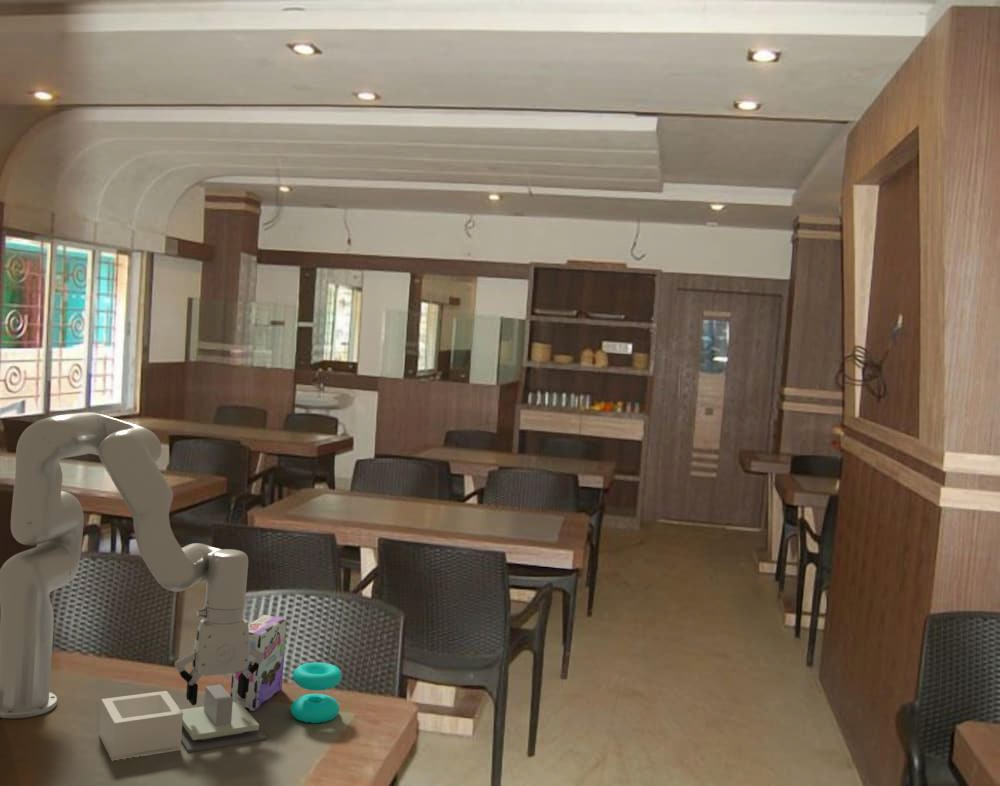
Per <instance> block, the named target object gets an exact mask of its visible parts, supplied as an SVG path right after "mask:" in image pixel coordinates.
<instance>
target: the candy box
mask: <svg viewBox="0 0 1000 786" xmlns="http://www.w3.org/2000/svg"><path fill="white" fill-rule="evenodd" d="M287 620H288V618H287V617H283V616H275V615H268V614H263V615H262V616H260V617H259V618H256V619H255V620H253V621H251V622H250V623H248V627H249V647H251V648H253V649H255V650H258V651H260V652H262V653H263V654H264V658H263V660H262V661H261V663H260V664H259V668H258V669H257V670H256V671H255V672H254V673H253V674H252V677H251V678H249V688H248V692H247V693H246V698H245V699H242V698H241V697H240V696H239V695H238V693H237V690H238V678H239V675H240V674H241V672H238V673H231V685H230V696H231V697H232V698H233V702H238V701H239V702H240V703H241V705H242V706H243V707H244V708H245V709H246V710H247V711H250V712H251V711H252V712H255V711H256V710H258V709H259V708H260V707H261V706H263V705H264V704H265V703H267V702H268V701H269V700H270V699H271V698H273V697H274V696H275V695H277V693H279V692H280V691H281V690H282V689H283V675H284V662H285V650H286V649H285V647H286V635H287V622H288V621H287ZM253 659H254V657H253V656H251V655H249V664H250V663H251V662H252V661H253Z"/></svg>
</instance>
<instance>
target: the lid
mask: <svg viewBox="0 0 1000 786" xmlns="http://www.w3.org/2000/svg"><path fill="white" fill-rule="evenodd" d="M204 689H205V690H204V703H203V706H197V707H188V708H182V709H180V710H181V711H182V713H183V719H182V725H183V726H184V728H185V729H186V731H187V732H188V733H189V735H190V736H191V738H192V739H193V740H198V739H201V740H204V739H210V738H217V737H223V736H229V735H235V734H241V733H244V732H248V731H254V730H259V729H260V724H259V722H258V721H257V720H256V719H255V718H254V717H253V716H252V715H251V713H249V710H246V709H245V708H244V707H243V706H242V705H241V703H240V702H239V701H238V702H233V698H232V697H231V694H229V692H228V691H227V690H226V689H225V688H224V687H223V686H222V684H212V685H206V686H205V687H204Z"/></svg>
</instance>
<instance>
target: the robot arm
mask: <svg viewBox="0 0 1000 786" xmlns="http://www.w3.org/2000/svg"><path fill="white" fill-rule="evenodd" d="M88 454H89V455H90V454H91V455H96V456H98V458H99V459H100V462H101V464H102V465H103V467H104V469H105V471H106V472H107V474H108V476H109V477H110V479H111V481H112V482H113V484H114V486H115V488H116V489H117V491H118V492H119V495H120V496H121V497H122V499H123V501H124V502H125V504H126V505H127V507H128V509H129V511H130V512H131V515H132V518H133V519H132V520H133V531H134V534H135V540H136V545H137V548H138V551H139V553H140V556H141V557H142V560H143V561H144V563H145V565H146V566H147V568H148V570H149V571H150V572H151V574H152V576H153V577H154V579H155V580H156V582H157V583H158V584H160V586H162V587H163V588H164V589H165V590H167V591H170V592H183V591H186V590H188V589H190V588H191V587H193V586H195V585H197V584H199V583H202V582H203V583H204V582H206V587H205V597H204V598H205V600H204V604H203V607H202V608H200V609H197V610H196V616H197V617H198V618H199V617H201V618H203V619H201V620H200V622H199V624H198V628H197V631H196V635H195V636H196V637H195V640H194V644H193V645H194V647H193V650H192V651H190V652H189V653H188V654H185V655H184V656H183V657H181V658H178V659H177V660H175V661H174V666H175V668H176V670H177V672H178V673H179V675H180V677H181V678H183V680H184V681H185V682H187V683H186V684H187V685H186V700H187V701H189V703H190V704H191V706H196V705H197V703H198V701H197V700H198V690H199V685H198V684H197V682H198V681H199V679H200V678H201V677H210V676H220V675H229V674H230V675H231V674H232V673H238V672H241V674H240V675H239V678H238V690H237V693H238V695H239V696H240V697H241V698H242V699H245V698H246V693H247V692H248V688H249V678H251V677H252V674H253V673H254V672H255V671H256V670H257V669H258V668H259V664H260V663H261V661H262V660H263V658H264V654H263V653H262V652H260V651H258V650H255V649H253V648H251V647H249V627H248V624H249V620H248V619H246V618H245V606H246V595H247V594H246V593H247V583H248V582H247V581H248V571H249V570H248V569H249V557H248V555H247V553H246V552H244V551H242V550H238V549H234V548H233V549H229V548H224V549H222V548H219V547H214V546H211V545H208V544H205V543H199V542H196V543H195V542H194V543H190V544H186V545H184V547H181V545H180V544H179V542H178V540H177V539H176V537H175V535H174V533H173V530H172V528H171V521H170V509H171V507H172V502H173V499H174V493H173V490H172V488H171V486H170V484H169V483H168V481H167V479H166V477H164V474H163V473H162V471H161V470H160V468H159V467H158V464H157V462H158V461H159V459H160V458H161V454H162V444H161V441H160V439H159V438H158V435H156V434H155V433H154V432H153V431H151V430H150V429H148V428H146V427H143V426H141V425H137V424H134V423H131V422H127V421H124V420H121V419H118V418H116V417H115V418H114V417H111V416H108V415H105V414H101V413H98V412H90V411H89V412H78V413H77V412H76V413H66V414H59V415H58V414H57V415H53V416H50V417H46V418H43V419H39V420H37V421H35V422H33V423H31V424H30V425H29V426H27V427H26V428H25V429H24V430H23V431H22V433H21V435H20V437H19V439H17V443H16V450H15V475H14V477H15V478H14V482H13V483H14V484H13V493H12V503H11V504H12V505H11V513H10V531H11V534H12V537H13V538H14V539H15V540H16V541H17V542H18V543H20V544H22V545H25V546H33V545H34V546H35V545H36V546H35V547H32V548H30V549H29V548H28V549H26V550H23V551H21V552H18V553H16V554H14V555H12V556H11V557H9V558H8V559H7V560H6V561H5V562H4V563H3V564H2V566H1V567H0V718H1V719H25V718H26V719H27V718H32V717H36V716H41V715H44V714H46V713H49V712H51V711H52V710H54V708H56V707H57V704H58V697H57V695H56V694H54V693H53V692H50V690H51V689H50V687H51V685H50V684H51V671H52V654H53V653H52V652H53V638H54V620H55V619H54V618H55V617H54V616H55V615H54V610H53V605H52V603H51V599H50V593H51V592H53V591H55V590H58V589H60V588H62V587H64V586H65V585H68V584H69V583H70V582H71V581H73V579H74V578H75V577H76V575H77V573H78V570H79V568H80V563H81V556H82V554H81V552H82V546H83V545H82V544H83V535H84V534H83V532H84V520H85V515H84V510H83V507H82V504H81V502H80V501H79V499H78V498H77V497H76V496H75V495H73V494H72V493H70V492H68V491H64V490H62V485H63V471H62V467H61V464H60V460H62V459H66V458H73V457H78V456H79V457H80V456H84V455H88ZM249 655H251V656H253V657H254V659H253V661H252V662H251V663H250V664H249ZM191 662H192V663H191ZM190 663H191V664H192V669H191V670H189V672H188V671H187V670H186V666H187V665H188V664H190Z"/></svg>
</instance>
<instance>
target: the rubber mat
mask: <svg viewBox="0 0 1000 786" xmlns="http://www.w3.org/2000/svg"><path fill="white" fill-rule="evenodd" d="M267 738H268V737H267V735H266V734H265V733H264V732H263V731H262V730H261V729H260V728H259V730H254V731H248V732H244V733H241V734H235V735H229V736H223V737H217V738H210V739H204V740H201V739H198V740H193V739H192V738H191V736H190V735H189V733H188V732H187V731H186V729H185V728H184V726H183V725H182V734H181V745H183V748H184V749H185V750H186V752H187V753H193V752H198V751H203V750H211V749H216V748H222V747H223V748H224V747H229V746H235V745H241V744H248V743H254V742H259V741H264V740H267Z"/></svg>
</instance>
